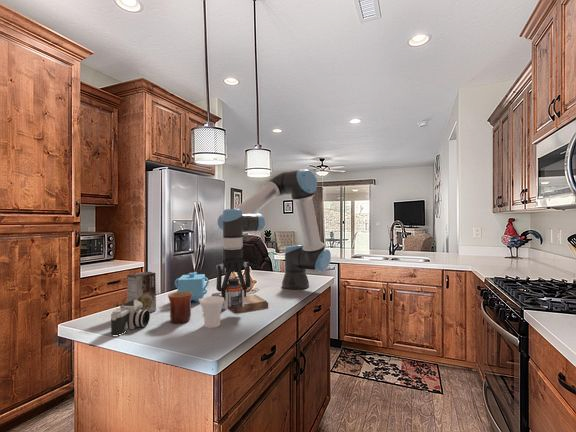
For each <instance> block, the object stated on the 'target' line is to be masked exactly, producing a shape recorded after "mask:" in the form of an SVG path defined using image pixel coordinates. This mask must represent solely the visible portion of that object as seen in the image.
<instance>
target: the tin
mask: <svg viewBox="0 0 576 432" xmlns="http://www.w3.org/2000/svg"><path fill="white" fill-rule="evenodd" d="M211 296H220V297H221V292H220V291H218V292H214V293H212V294H211ZM227 310H228V309H225V308H224V302H223V304H222V309H221V312H225V311H227Z"/></svg>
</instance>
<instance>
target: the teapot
mask: <svg viewBox="0 0 576 432" xmlns="http://www.w3.org/2000/svg"><path fill="white" fill-rule="evenodd" d="M209 283H210V280H209V279H208V277H206V275H205V273H200V274H199V273H198V271H194V272H188V274H182V275H181V276H180V277H178V278H176V279H175V281H174V286H175V288H177V290H176V292H182V291H187V292H192V293H193V294H192V298H191V301H194V303H199V304H200V302H199V298H200V299H201V298H204V297H205V295H206V294H207V293H208V289H206V288H207V287H208V286H209Z"/></svg>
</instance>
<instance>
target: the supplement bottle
mask: <svg viewBox="0 0 576 432" xmlns="http://www.w3.org/2000/svg"><path fill="white" fill-rule="evenodd" d="M241 289H242V287H241V284H240V281H239V278H237V277H232V278H229V281H228V285H227V288H226V291H227V292H228V309H227V310H233V309H239V308H241V307H242V292H241ZM233 311H234V310H233Z"/></svg>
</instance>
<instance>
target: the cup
mask: <svg viewBox="0 0 576 432" xmlns="http://www.w3.org/2000/svg"><path fill="white" fill-rule="evenodd" d="M223 302H224V298H223V297H220V296H212V295H211V296H210V295H209V296H203V298H201V299H200V298H199V304H200V306H201V308H202V312H203V319H204V324H203V325H204V327H205V328H210V329H211V328H216V327H219V326H220V325H221V312H222V311H221V309H222V304H223Z"/></svg>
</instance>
